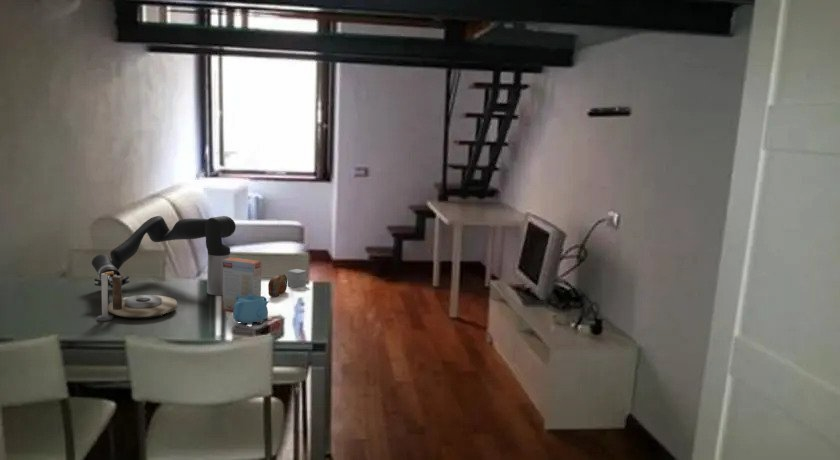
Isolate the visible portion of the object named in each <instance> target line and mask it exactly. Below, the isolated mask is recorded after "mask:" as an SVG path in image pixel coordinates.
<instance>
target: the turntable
mask: <svg viewBox="0 0 840 460" xmlns="http://www.w3.org/2000/svg"><path fill="white" fill-rule="evenodd" d="M121 276H122V275H121ZM121 276H113V277H112V287H113V288H112V301H111V302H110V303H108V313H111V314H112V315H115V316H117V317H118V316H119V317H120V316H125V317H148V316H156V315H161V314H165V313H167V314H169V313H170V312H174V311H175V310H176V309H177V308H178V302H177V300H176V299H174V298H173V297H169V296H165V295H157V294H156V295H155V294H154V295H152V294H151V295H150V294H146V295H145V294H143V295H141V294H140V295H132V296H125V297H122V296H123V295H122V294H123V293H122V292H123V291H122V288H123V287H122V286H123V285H121ZM165 315H166V314H165Z"/></svg>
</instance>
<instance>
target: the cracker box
mask: <svg viewBox="0 0 840 460" xmlns="http://www.w3.org/2000/svg"><path fill="white" fill-rule="evenodd" d="M248 294H254V296H259V297H261V295H262V261H261V260H255V259H246V258H240V257H232V256H230V258H227V259H224V260H223V295H222V311H224V312H230V313H233V310H234V305H235V303H236V296H237V295H240V296H242V297H244V296H247V295H248Z"/></svg>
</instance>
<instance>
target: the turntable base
mask: <svg viewBox="0 0 840 460" xmlns="http://www.w3.org/2000/svg"><path fill="white" fill-rule="evenodd" d="M161 315H162V316H165V315H167V314H166V313H165V315H164V314H161ZM161 315H156V316H148V317H125V316H119V317H121V318H122V319H123V318H124V319H131V320H146V319H148V320H149V319H153V318H159V317H162V316H161Z"/></svg>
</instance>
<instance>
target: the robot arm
mask: <svg viewBox="0 0 840 460" xmlns="http://www.w3.org/2000/svg"><path fill="white" fill-rule="evenodd" d="M235 231H236V223H235V221H234V220H233V218H231V217H230V216H228V215H221V216H212V217H209V218H192V217H191V218H180V219H179V220H178V221H177V222H176V223H175V224H174V225H173V227H172V229H170V228H169V226H168V224H167V222H166V220H165V219H164V218H163V217H162V216H161V215H156V216H153V217H150V218H148V219H147V220H146V221H145V222H143V224H141V225H140V226H139V227H138V228H137V229H136V230H135V231H134V232H133V233H132V234H131V235H130V236H129V237H128V238H127V239H125V240H124V241H123V242H122V243H120V244H119V245H118V246H116V247H115V248H114V249H112V250H111V251H110V254H109V256H108V255H107V254H104V253H101V254H98V255H96V256H94V257H93V258H92V260H91V265H92V267H93V269H94V270H95V271H96V273H97V277H98V278H94V279H93V280H94V281H93V283H94V286H98V287H101V274H102V273H105V272H112V271H113V272H114V274H110V275H107V279H108V288H111V289H113V287H112V277H113V276H121V285H122V286H124V285H126V284H129V283H130V275H126V276H123V275H121V273H120V271H119V270H120V268H121V267H122V266H123V264H125V263H126V262H127V261H128V260H129V259H131V258H132V257H134V255H136V253H137V252H138V250H139V247H140V246H141V244H142V240H143V239H144V236H145V235H146V234H147V236H148V237H149V239H150V240H151V241H152V242H153V243H162V242H169V241H177V240H196V239H203V238H205V247H206V250H207V274H206V276H207V277H206V279H207V287H206V291H207V292H206V294H208V295H211V296H223V260H224V259H227V258H230V257H231V247H230V246H228V245H225V244H223V239H224V238H228V237H230V236H232V235H233V234H234V233H235Z"/></svg>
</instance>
